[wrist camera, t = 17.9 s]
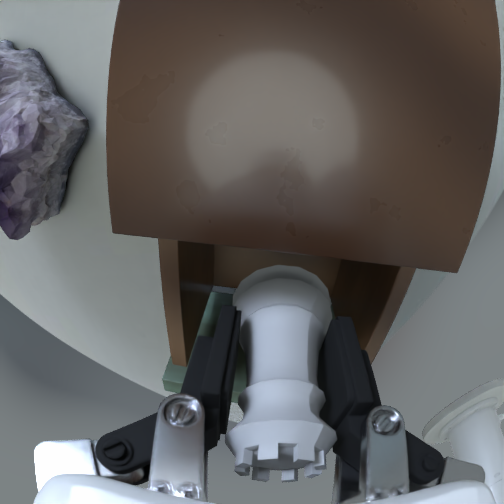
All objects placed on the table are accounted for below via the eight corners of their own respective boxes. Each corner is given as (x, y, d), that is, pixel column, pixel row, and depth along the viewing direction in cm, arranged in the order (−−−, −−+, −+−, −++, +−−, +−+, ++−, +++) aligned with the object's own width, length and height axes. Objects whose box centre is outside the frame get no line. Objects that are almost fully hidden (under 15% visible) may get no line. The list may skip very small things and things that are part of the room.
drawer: (323, 354, 24) (334, 439, 16) (198, 341, 24) (174, 425, 17) (382, 146, 16) (461, 180, 8) (200, 121, 16) (134, 132, 8)
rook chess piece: (275, 239, 12) (272, 426, 4) (348, 295, 13) (391, 457, 6) (214, 305, 13) (171, 464, 6) (285, 347, 14) (283, 493, 7)
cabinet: (376, 192, 18) (457, 274, 9) (192, 169, 18) (111, 234, 9) (397, 2, 11) (481, -53, 2) (211, -25, 11) (158, -111, 2)
